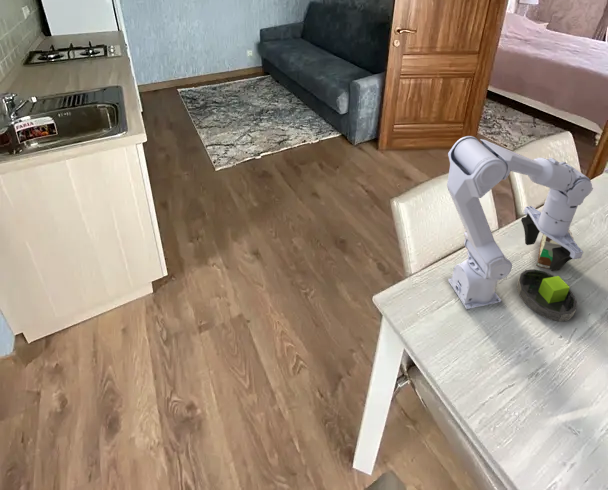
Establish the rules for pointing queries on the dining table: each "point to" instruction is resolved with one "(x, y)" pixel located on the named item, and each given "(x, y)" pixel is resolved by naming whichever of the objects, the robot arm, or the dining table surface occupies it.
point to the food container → (547, 251)
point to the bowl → (536, 302)
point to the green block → (553, 289)
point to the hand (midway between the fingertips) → (541, 256)
